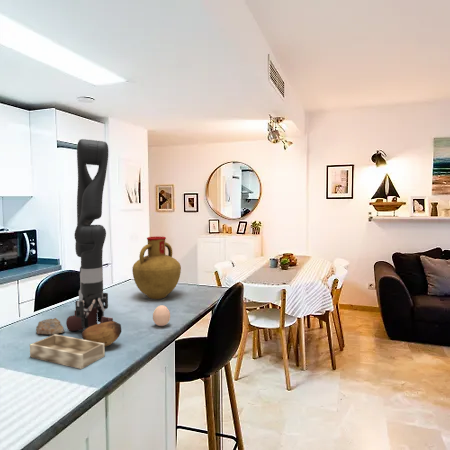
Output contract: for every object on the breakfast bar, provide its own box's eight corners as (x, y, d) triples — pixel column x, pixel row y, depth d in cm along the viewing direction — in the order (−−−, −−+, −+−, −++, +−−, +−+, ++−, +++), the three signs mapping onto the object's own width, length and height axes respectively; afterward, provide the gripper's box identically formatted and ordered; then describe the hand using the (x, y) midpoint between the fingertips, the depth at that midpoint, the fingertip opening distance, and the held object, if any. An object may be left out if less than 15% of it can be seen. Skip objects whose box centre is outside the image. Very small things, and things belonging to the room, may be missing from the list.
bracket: (106, 331, 129) (106, 302, 132) (65, 337, 133) (66, 308, 136) (116, 331, 134) (116, 304, 138) (76, 337, 138) (77, 310, 142)
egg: (153, 329, 138) (153, 308, 138) (152, 323, 145) (151, 303, 144) (171, 327, 140) (171, 307, 139) (169, 322, 146) (169, 302, 146)
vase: (157, 289, 202) (157, 234, 200) (191, 295, 188) (190, 236, 186) (122, 298, 183) (121, 237, 181) (156, 306, 169) (155, 240, 167)
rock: (31, 333, 135) (42, 335, 128) (34, 317, 137) (44, 317, 130) (55, 333, 141) (67, 335, 134) (58, 317, 143) (69, 318, 136)
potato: (85, 357, 121) (88, 336, 128) (125, 347, 122) (126, 327, 128) (75, 344, 117) (79, 323, 123) (116, 333, 117) (118, 313, 123)
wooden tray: (30, 357, 114) (29, 344, 114) (55, 346, 123) (55, 334, 122) (81, 369, 106) (81, 355, 105) (104, 356, 114) (104, 343, 114)
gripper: (97, 275, 142) (98, 318, 143) (68, 283, 129) (69, 329, 130) (113, 277, 139) (114, 320, 140) (85, 284, 126) (86, 332, 127)
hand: (93, 324), depth 135 cm, fingers closed on bracket, 7 cm apart
